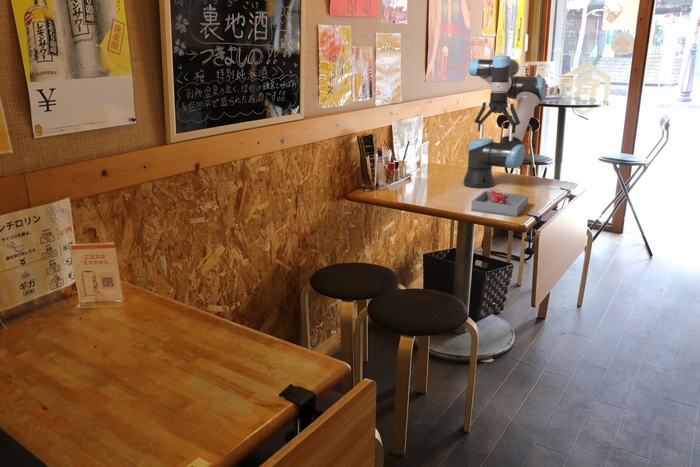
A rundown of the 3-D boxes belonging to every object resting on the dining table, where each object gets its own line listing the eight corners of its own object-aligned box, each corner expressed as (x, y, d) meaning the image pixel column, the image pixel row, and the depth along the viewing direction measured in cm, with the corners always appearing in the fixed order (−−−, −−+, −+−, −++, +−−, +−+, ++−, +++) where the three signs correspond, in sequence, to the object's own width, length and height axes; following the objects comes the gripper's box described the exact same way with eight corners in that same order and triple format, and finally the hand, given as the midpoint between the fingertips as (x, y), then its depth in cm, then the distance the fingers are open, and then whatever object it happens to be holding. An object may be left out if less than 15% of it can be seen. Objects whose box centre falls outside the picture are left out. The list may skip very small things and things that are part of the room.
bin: (471, 210, 248) (471, 200, 247) (484, 200, 265) (485, 190, 263) (516, 217, 239) (517, 206, 238) (527, 205, 256) (528, 195, 254)
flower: (491, 206, 245) (503, 191, 244) (479, 197, 253) (490, 182, 251) (503, 215, 251) (515, 200, 250) (490, 206, 258) (501, 192, 257)
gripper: (469, 91, 259) (466, 138, 266) (525, 93, 248) (521, 142, 254) (474, 90, 265) (471, 136, 272) (529, 92, 254) (525, 140, 261)
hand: (495, 139), depth 263 cm, fingers open, 13 cm apart
